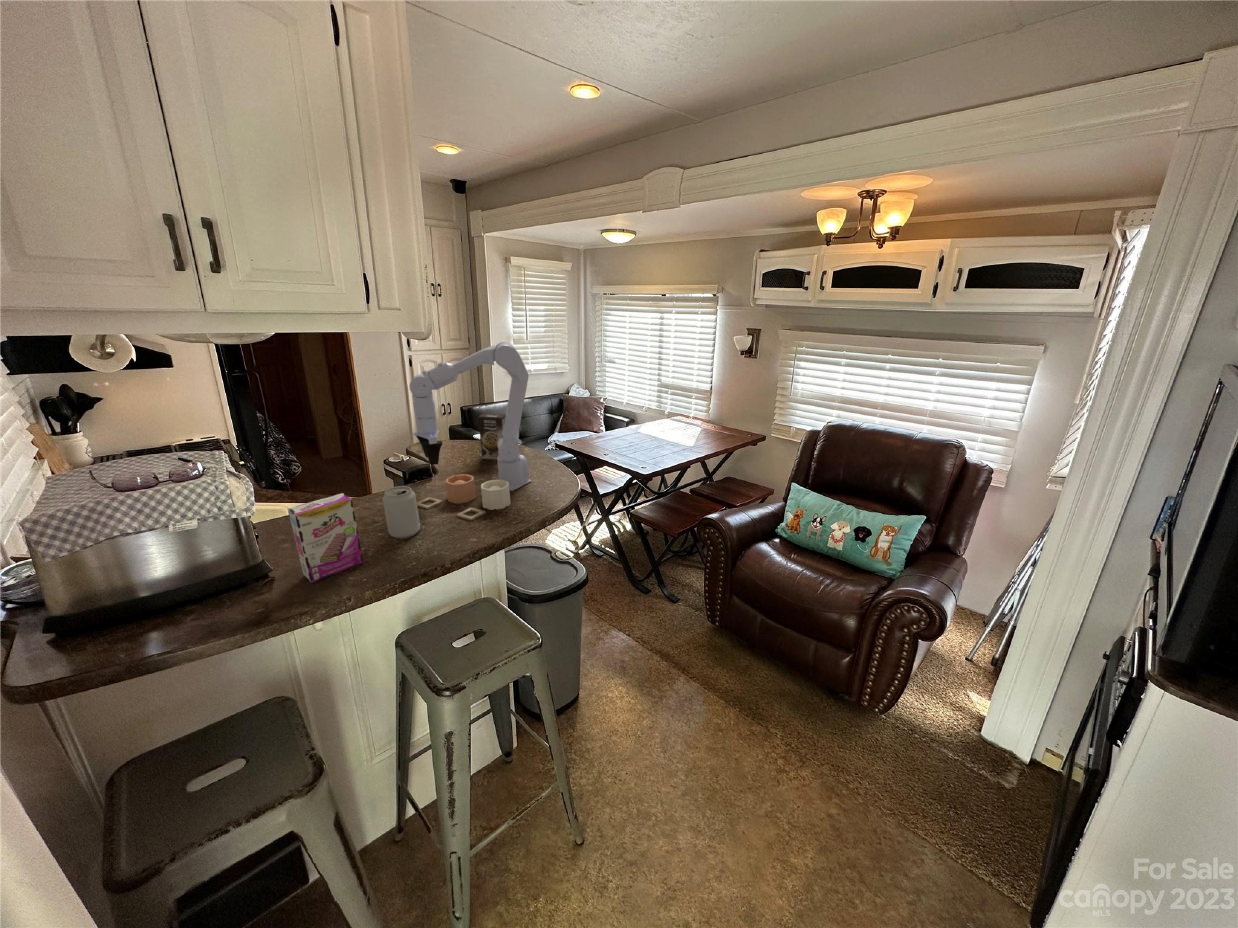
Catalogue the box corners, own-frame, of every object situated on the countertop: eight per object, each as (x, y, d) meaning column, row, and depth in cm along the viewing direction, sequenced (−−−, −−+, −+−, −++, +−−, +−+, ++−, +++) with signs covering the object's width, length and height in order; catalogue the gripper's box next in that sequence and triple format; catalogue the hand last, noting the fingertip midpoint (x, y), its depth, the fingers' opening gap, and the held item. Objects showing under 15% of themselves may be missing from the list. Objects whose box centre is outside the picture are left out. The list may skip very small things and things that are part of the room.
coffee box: (481, 459, 176) (477, 416, 171) (488, 453, 182) (484, 412, 176) (504, 460, 175) (501, 417, 169) (511, 454, 181) (508, 413, 175)
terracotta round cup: (462, 490, 149) (460, 472, 146) (481, 495, 145) (479, 477, 143) (442, 499, 142) (440, 481, 140) (461, 505, 139) (459, 486, 137)
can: (409, 541, 119) (402, 497, 115) (382, 538, 120) (374, 494, 116) (426, 527, 126) (420, 485, 122) (401, 524, 127) (394, 483, 123)
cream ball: (496, 497, 143) (494, 482, 141) (508, 500, 140) (507, 485, 139) (483, 503, 139) (482, 487, 137) (496, 507, 136) (495, 490, 135)
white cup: (496, 496, 145) (494, 477, 143) (515, 501, 141) (514, 483, 139) (477, 505, 138) (475, 486, 136) (497, 511, 135) (495, 492, 133)
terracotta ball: (462, 492, 147) (458, 477, 145) (473, 494, 144) (470, 478, 143) (449, 498, 143) (445, 482, 141) (461, 500, 140) (457, 484, 139)
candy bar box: (312, 584, 101) (294, 515, 96) (303, 576, 104) (285, 508, 99) (365, 562, 110) (352, 497, 104) (356, 555, 113) (342, 491, 107)
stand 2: (471, 509, 136) (471, 507, 136) (485, 513, 134) (485, 511, 134) (456, 516, 132) (456, 514, 132) (471, 520, 129) (470, 518, 129)
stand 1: (430, 498, 143) (429, 496, 143) (442, 502, 140) (442, 500, 140) (414, 505, 138) (414, 503, 138) (427, 509, 136) (427, 507, 136)
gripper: (407, 412, 143) (413, 455, 148) (415, 424, 131) (422, 470, 136) (432, 410, 146) (437, 452, 151) (441, 420, 135) (447, 466, 139)
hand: (431, 460), depth 144 cm, fingers open, 7 cm apart
